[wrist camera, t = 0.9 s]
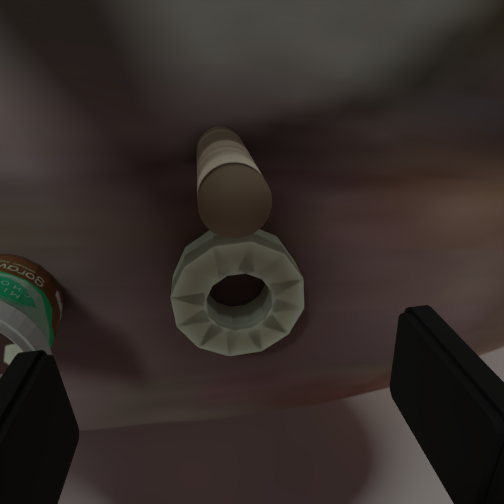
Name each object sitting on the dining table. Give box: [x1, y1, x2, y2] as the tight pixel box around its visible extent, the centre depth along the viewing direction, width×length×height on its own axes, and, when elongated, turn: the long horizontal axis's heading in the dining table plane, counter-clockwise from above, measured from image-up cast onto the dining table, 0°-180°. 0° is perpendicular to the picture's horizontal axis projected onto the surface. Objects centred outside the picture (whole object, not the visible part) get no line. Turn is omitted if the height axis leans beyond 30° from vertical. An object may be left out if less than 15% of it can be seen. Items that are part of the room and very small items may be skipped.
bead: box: [170, 229, 304, 356], centre depth 37 cm, size 12×12×4 cm
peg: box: [197, 126, 272, 239], centre depth 27 cm, size 4×4×14 cm
